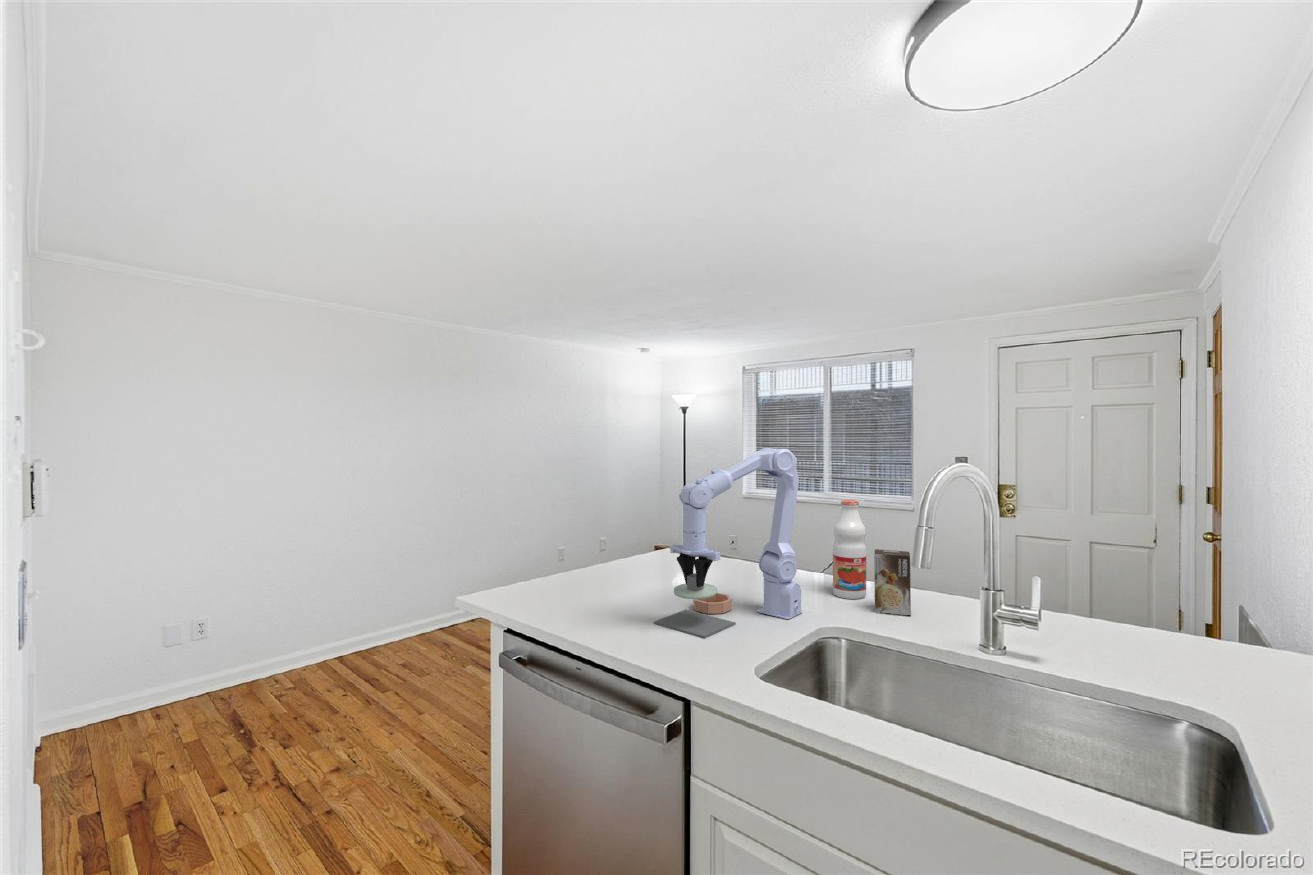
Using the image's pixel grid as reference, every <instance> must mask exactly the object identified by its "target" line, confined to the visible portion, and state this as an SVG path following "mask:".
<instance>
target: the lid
mask: <svg viewBox="0 0 1313 875" xmlns="http://www.w3.org/2000/svg"><path fill="white" fill-rule="evenodd" d="M717 593H718V587H716V586H715V585H712V584H710V583H706V582H704V586H702V587H697V584H696V572H693V574H691V575H688V576H687V584H686V583H681V584H678V585H675V587H674V588H673V594H674V595H675V596H676V597H678V598H682V599H686V600H693V599H705V598H710V597H713V596H715V595H716V594H717Z"/></svg>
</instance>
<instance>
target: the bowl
mask: <svg viewBox="0 0 1313 875" xmlns="http://www.w3.org/2000/svg"><path fill="white" fill-rule="evenodd" d="M732 601H733V600H732V597H731V596H730V595H729V594H725V593H722V592H721V593H720V592H717V594H716V595H715V596H713V597H710V598H705V599H692V607H693V609H694V611H695V612H698V613H701V614H705V615H720V614H724V613H727V612H730V611H731V610H732V609H733V608H732V607H733V605H732V604H733V602H732Z"/></svg>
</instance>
